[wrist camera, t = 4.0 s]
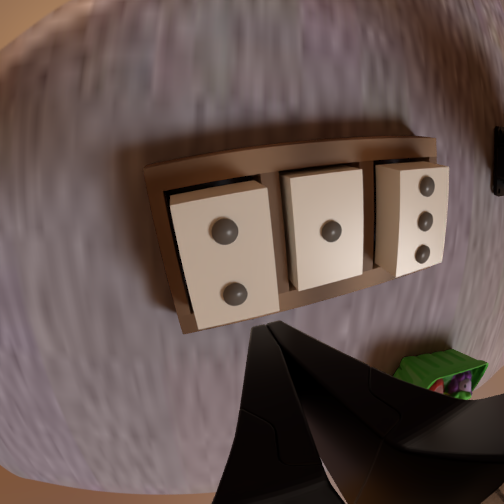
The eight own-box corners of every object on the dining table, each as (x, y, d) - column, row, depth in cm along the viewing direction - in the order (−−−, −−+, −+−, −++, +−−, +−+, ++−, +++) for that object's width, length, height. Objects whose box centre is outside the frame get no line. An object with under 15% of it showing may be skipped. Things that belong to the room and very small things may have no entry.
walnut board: (415, 135, 18) (435, 138, 16) (412, 257, 21) (429, 267, 20) (146, 165, 15) (143, 168, 13) (181, 315, 18) (183, 334, 16)
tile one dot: (341, 164, 17) (363, 169, 15) (344, 259, 19) (363, 275, 17) (275, 172, 16) (291, 178, 14) (284, 274, 18) (299, 292, 16)
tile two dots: (253, 180, 15) (268, 188, 13) (266, 290, 17) (280, 312, 15) (170, 195, 14) (169, 206, 12) (194, 306, 16) (198, 331, 14)
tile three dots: (424, 161, 17) (450, 167, 14) (420, 249, 19) (443, 262, 17) (375, 164, 16) (402, 171, 14) (374, 262, 18) (397, 278, 16)
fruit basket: (463, 337, 28) (527, 393, 18) (429, 396, 31) (480, 453, 21) (399, 346, 25) (477, 428, 15) (362, 413, 28) (416, 492, 17)
